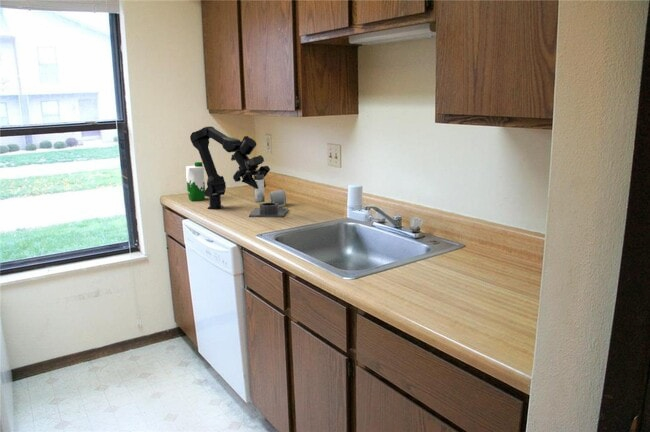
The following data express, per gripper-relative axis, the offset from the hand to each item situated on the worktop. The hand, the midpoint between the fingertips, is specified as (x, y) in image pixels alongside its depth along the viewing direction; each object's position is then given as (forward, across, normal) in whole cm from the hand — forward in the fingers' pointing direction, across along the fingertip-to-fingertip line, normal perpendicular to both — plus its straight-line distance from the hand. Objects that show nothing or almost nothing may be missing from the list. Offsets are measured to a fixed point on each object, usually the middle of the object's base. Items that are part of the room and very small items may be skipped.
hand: (261, 187), depth 233 cm
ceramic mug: (+1, +23, +18) cm, 29 cm away
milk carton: (-32, +8, +51) cm, 61 cm away
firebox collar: (+8, +7, +11) cm, 15 cm away
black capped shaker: (+4, 0, +6) cm, 7 cm away
